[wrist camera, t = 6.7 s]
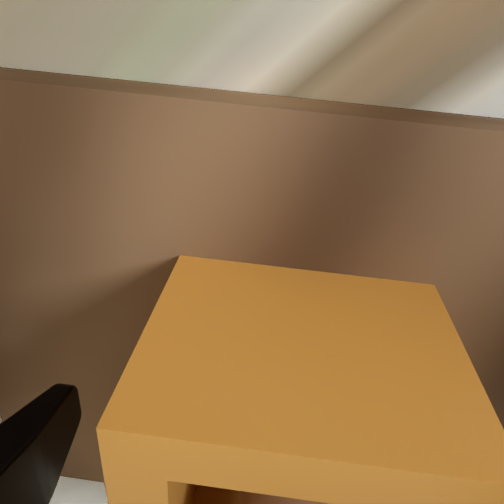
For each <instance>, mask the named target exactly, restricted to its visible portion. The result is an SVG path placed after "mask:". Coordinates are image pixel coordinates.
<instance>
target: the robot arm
mask: <svg viewBox="0 0 504 504" xmlns="http://www.w3.org/2000/svg"><path fill="white" fill-rule="evenodd" d="M81 413H82V412H81V405H80V399H79V394H78V389H77V387H76V386H74V385H69V384H62V383H58V384H55V385H53V386H52V387H50V388H49V389H47V390H46V391H45V392H43V393H42V394H40V395H39V396H38V397H36V398H35V399H34V400H32V401H31V402H29V403H28V404H27V405H25V406H24V407H23V408H21V409H20V410H18V411H17V412H16V413H14V414H13V415H12V416H10V417H9V418H7V419H6V420H5V421H3V422H2V423H0V504H49V502H50V500H51V497H52V495H53V493H54V490H55V488H56V485H57V483H58V480H59V477H60V475H61V472H62V469H63V467H64V464H65V461H66V458H67V456H68V453H69V450H70V448H71V445H72V442H73V440H74V437H75V434H76V432H77V429H78V426H79V423H80V420H81Z"/></svg>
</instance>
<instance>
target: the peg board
mask: <svg viewBox="0 0 504 504" xmlns="http://www.w3.org/2000/svg"><path fill="white" fill-rule="evenodd" d="M180 255H182V256H191V257H200V258H208V259H217V260H225V261H234V262H243V263H251V264H260V265H268V266H277V267H286V268H294V269H303V270H311V271H320V272H329V273H337V274H346V275H354V276H363V277H372V278H380V279H389V280H397V281H406V282H415V283H423V284H432V285H435V287H436V289H437V291H438V293H439V295H440V297H441V299H442V302H443V304H444V306H445V308H446V310H447V312H448V314H449V316H450V318H451V320H452V322H453V325H454V327H455V329H456V331H457V333H458V335H459V337H460V339H461V341H462V343H463V345H464V347H465V350H466V352H467V354H468V356H469V358H470V360H471V362H472V364H473V366H474V368H475V370H476V373H477V375H478V377H479V379H480V381H481V383H482V385H483V387H484V389H485V391H486V393H487V396H488V398H489V400H490V402H491V404H492V406H493V408H494V410H495V412H496V414H497V416H498V419H499V421H500V423H501V425H502V427H503V429H504V119H501V118H491V117H481V116H471V115H462V114H452V113H442V112H432V111H423V110H413V109H403V108H393V107H383V106H374V105H364V104H354V103H344V102H335V101H325V100H315V99H305V98H295V97H286V96H276V95H266V94H256V93H247V92H237V91H227V90H217V89H207V88H198V87H188V86H178V85H168V84H159V83H149V82H139V81H129V80H119V79H110V78H100V77H90V76H80V75H71V74H61V73H51V72H41V71H31V70H22V69H12V68H2V67H0V415H1V418H2V421H5V420H6V419H7V418H9V417H10V416H12V415H13V414H14V413H16V412H17V411H18V410H20V409H21V408H23V407H24V406H25V405H27V404H28V403H29V402H31V401H32V400H34V399H35V398H36V397H38V396H39V395H40V394H42V393H43V392H45V391H46V390H47V389H49V388H50V387H52V386H53V385H55V384H58V383H62V384H69V385H74V386H76V387H77V389H78V394H79V399H80V405H81V412H82V413H81V420H80V423H79V426H78V429H77V432H76V434H75V437H74V440H73V442H72V445H71V448H70V450H69V453H68V456H67V458H66V461H65V464H64V467H63V469H62V472H61V475H60V476H65V477H71V478H78V479H85V480H92V481H99V482H104V476H103V469H102V463H101V457H100V450H99V444H98V438H97V431H96V427H97V425H98V423H99V421H100V419H101V417H102V415H103V413H104V411H105V409H106V407H107V404H108V402H109V400H110V398H111V396H112V394H113V392H114V390H115V388H116V386H117V384H118V382H119V380H120V378H121V376H122V374H123V371H124V369H125V367H126V365H127V363H128V361H129V359H130V357H131V355H132V353H133V351H134V349H135V347H136V345H137V343H138V341H139V339H140V336H141V334H142V332H143V330H144V328H145V326H146V324H147V322H148V320H149V318H150V316H151V314H152V312H153V310H154V308H155V306H156V303H157V301H158V299H159V297H160V295H161V293H162V291H163V289H164V287H165V285H166V283H167V281H168V279H169V277H170V275H171V273H172V271H173V268H174V266H175V264H176V262H177V260H178V258H179V256H180ZM238 504H329V503H322V502H315V501H308V500H301V499H294V498H287V497H280V496H273V495H266V494H259V493H252V492H245V491H239V497H238Z"/></svg>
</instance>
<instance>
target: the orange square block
mask: <svg viewBox="0 0 504 504" xmlns="http://www.w3.org/2000/svg"><path fill="white" fill-rule="evenodd" d="M96 431H97V438H98V444H99V450H100V457H101V463H102V469H103V476H104V482H105V488H106V494H107V501H108V504H238V497H239V491H245V492H252V493H259V494H266V495H273V496H280V497H287V498H294V499H301V500H308V501H315V502H322V503H329V504H504V429H503V427H502V425H501V423H500V421H499V419H498V416H497V414H496V412H495V410H494V408H493V406H492V404H491V402H490V400H489V398H488V396H487V393H486V391H485V389H484V387H483V385H482V383H481V381H480V379H479V377H478V375H477V373H476V370H475V368H474V366H473V364H472V362H471V360H470V358H469V356H468V354H467V352H466V350H465V347H464V345H463V343H462V341H461V339H460V337H459V335H458V333H457V331H456V329H455V327H454V325H453V322H452V320H451V318H450V316H449V314H448V312H447V310H446V308H445V306H444V304H443V302H442V299H441V297H440V295H439V293H438V291H437V289H436V287H435V285H432V284H423V283H415V282H406V281H397V280H389V279H380V278H372V277H363V276H354V275H346V274H337V273H329V272H320V271H311V270H303V269H294V268H286V267H277V266H268V265H260V264H251V263H243V262H234V261H225V260H217V259H208V258H200V257H191V256H182V255H180V256H179V258H178V260H177V262H176V264H175V266H174V268H173V271H172V273H171V275H170V277H169V279H168V281H167V283H166V285H165V287H164V289H163V291H162V293H161V295H160V297H159V299H158V301H157V303H156V306H155V308H154V310H153V312H152V314H151V316H150V318H149V320H148V322H147V324H146V326H145V328H144V330H143V332H142V334H141V336H140V339H139V341H138V343H137V345H136V347H135V349H134V351H133V353H132V355H131V357H130V359H129V361H128V363H127V365H126V367H125V369H124V371H123V374H122V376H121V378H120V380H119V382H118V384H117V386H116V388H115V390H114V392H113V394H112V396H111V398H110V400H109V402H108V404H107V407H106V409H105V411H104V413H103V415H102V417H101V419H100V421H99V423H98V425H97V427H96Z"/></svg>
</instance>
